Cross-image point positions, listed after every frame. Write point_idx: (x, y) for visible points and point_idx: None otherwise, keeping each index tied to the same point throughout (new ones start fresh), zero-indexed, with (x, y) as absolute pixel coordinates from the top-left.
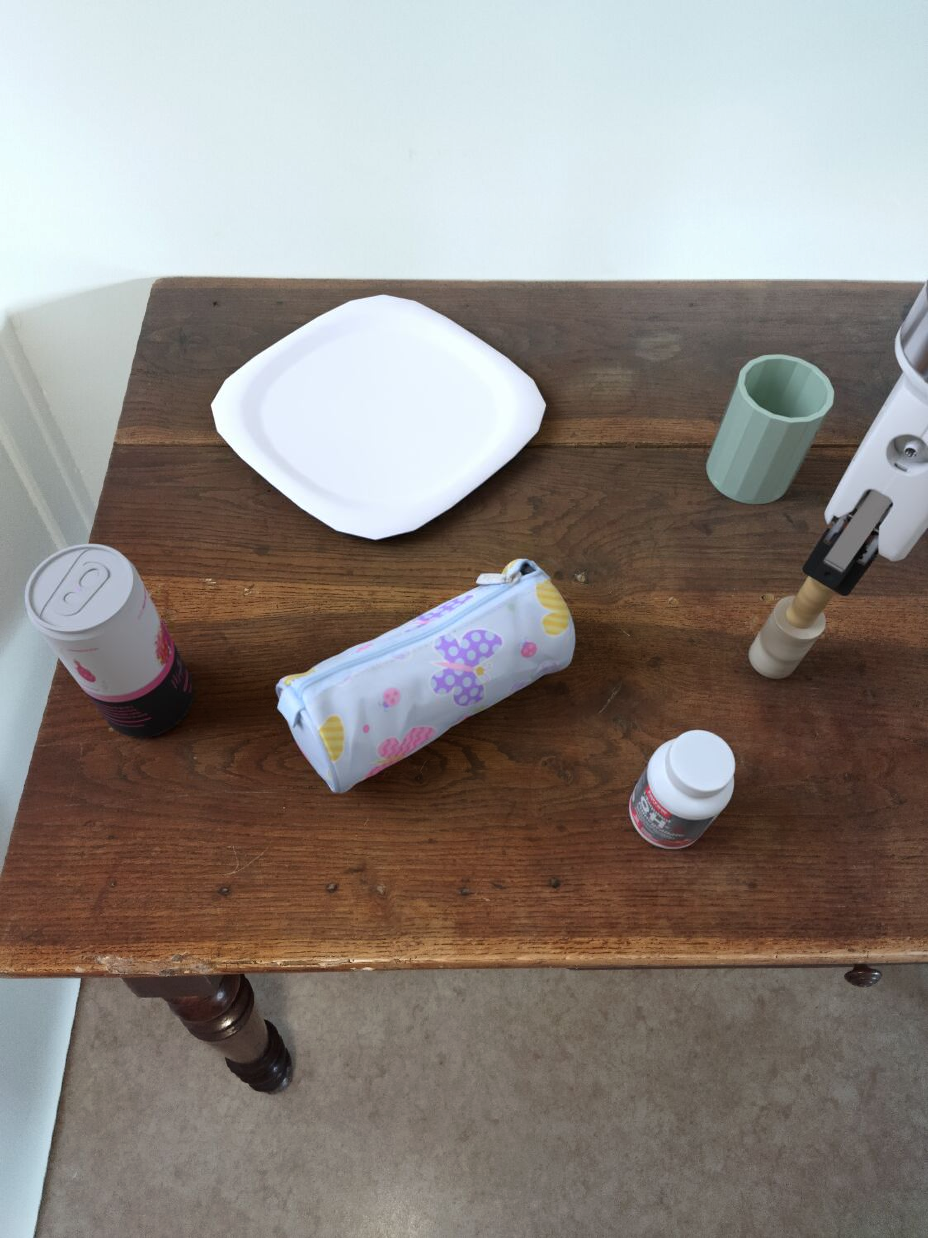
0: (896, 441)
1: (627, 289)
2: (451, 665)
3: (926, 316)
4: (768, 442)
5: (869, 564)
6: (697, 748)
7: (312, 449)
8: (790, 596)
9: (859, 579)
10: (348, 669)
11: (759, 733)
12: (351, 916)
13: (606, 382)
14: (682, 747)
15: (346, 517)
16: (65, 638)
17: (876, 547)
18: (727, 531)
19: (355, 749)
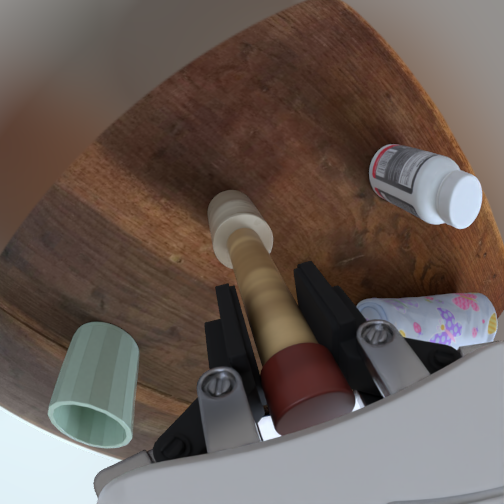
0: None
1: (103, 450)
2: (451, 337)
3: None
4: (119, 392)
5: (350, 312)
6: (463, 212)
7: None
8: (230, 267)
9: (330, 285)
10: None
11: (292, 166)
12: (489, 240)
13: (155, 427)
14: (466, 220)
15: (357, 409)
16: None
17: (420, 361)
18: (158, 321)
19: (486, 313)
